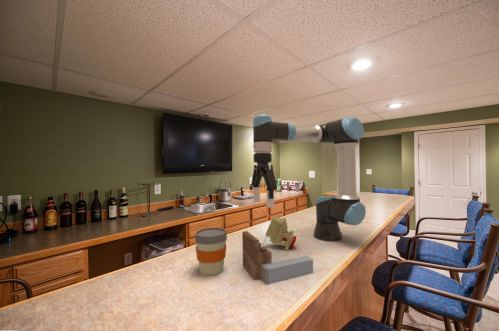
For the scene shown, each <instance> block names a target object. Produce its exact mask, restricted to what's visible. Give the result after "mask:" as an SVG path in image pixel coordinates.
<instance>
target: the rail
mask: <svg viewBox="0 0 499 331" xmlns="http://www.w3.org/2000/svg"><path fill="white" fill-rule="evenodd" d="M313 273H314V259H313V258H311V257H310V256H308V255H303V256H297V257H292V258H288V259H284V260H278V261H274V262H272V263H269V264H261V279H260V280H261V281H262V282H263V283H264V284H265V285H270V284H274V283H278V282H282V281H285V280H290V279H295V278H298V277H301V276H305V275H309V274H313Z"/></svg>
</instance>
